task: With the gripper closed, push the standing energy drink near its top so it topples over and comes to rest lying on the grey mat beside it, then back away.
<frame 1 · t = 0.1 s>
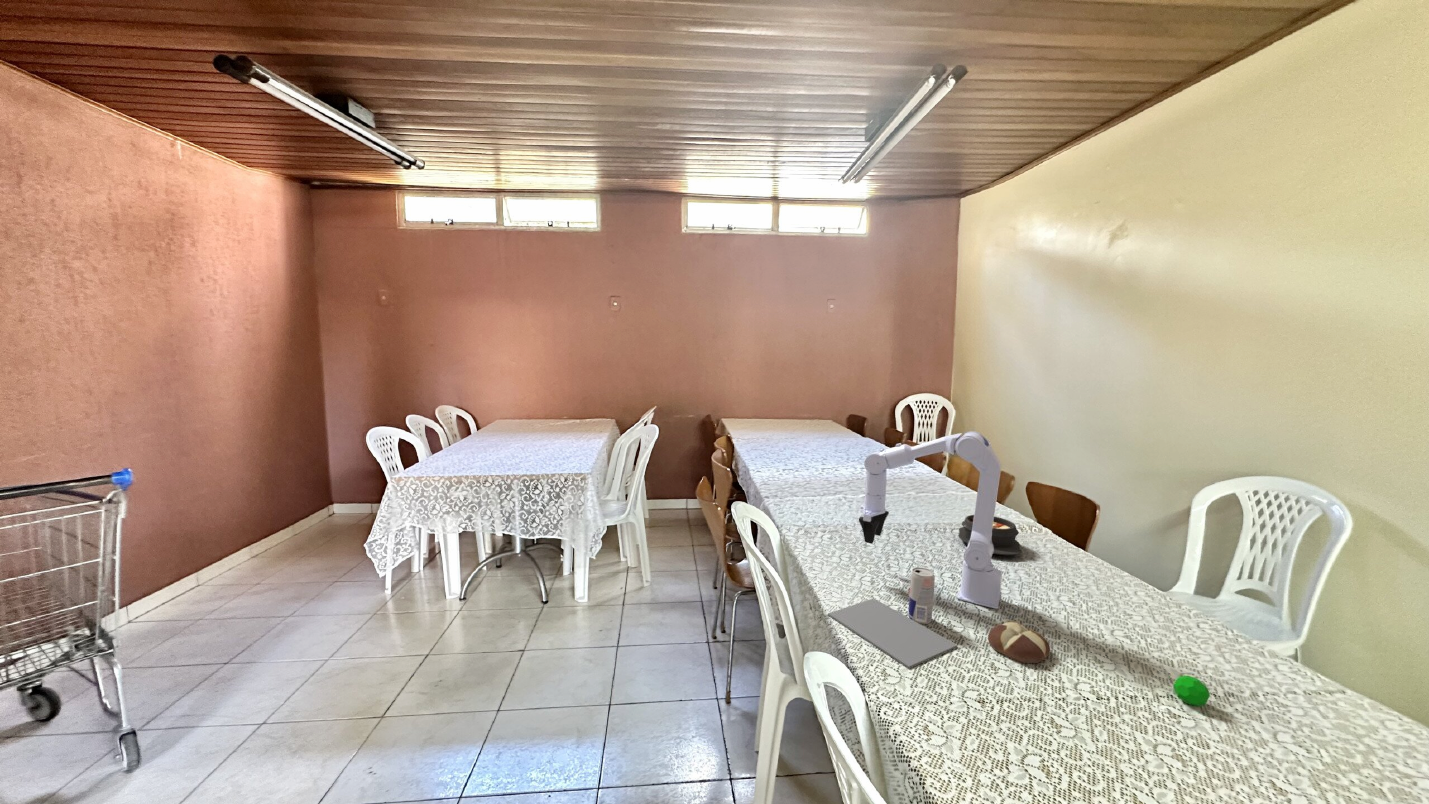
hand: (872, 538, 151), 10 cm above the table, fingers open, 7 cm apart
energy drink: (919, 619, 126), on the table
bread: (1018, 651, 114), on the table
polyhedron: (1189, 703, 98), on the table
casserole: (988, 546, 174), on the table
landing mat: (889, 630, 120), on the table
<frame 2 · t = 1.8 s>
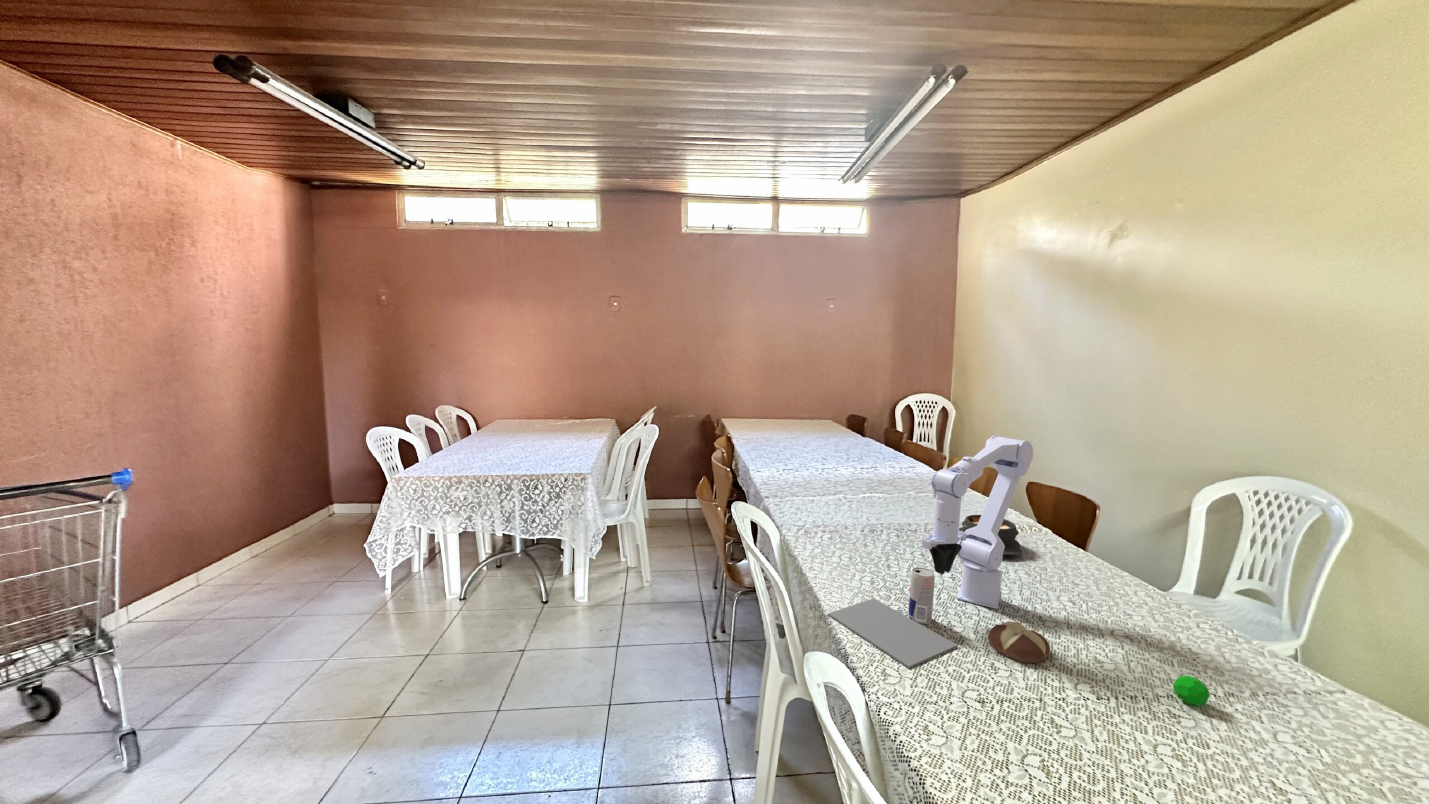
hand: (942, 571, 129), 10 cm above the table, fingers closed
nothing on the table moved.
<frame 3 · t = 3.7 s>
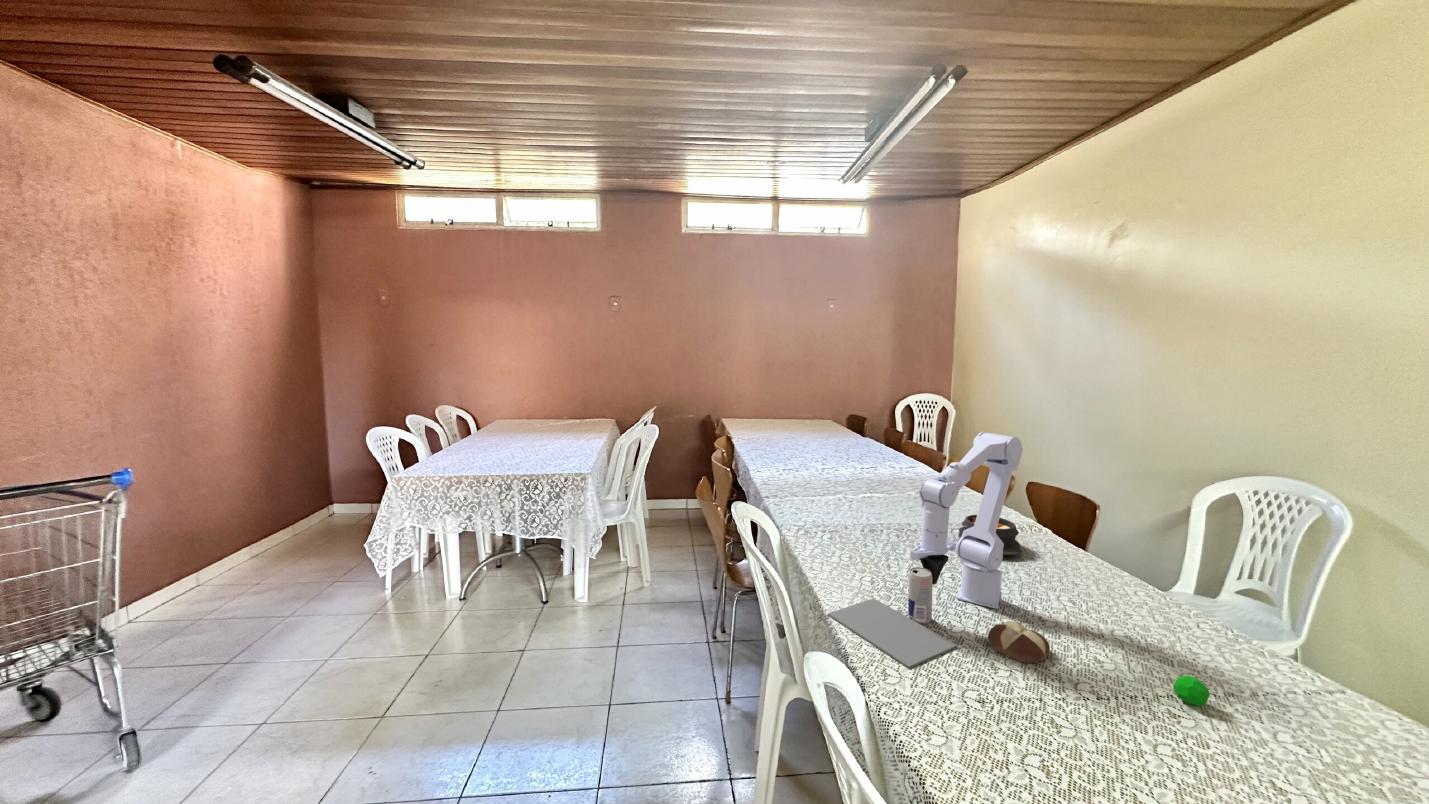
hand: (931, 582, 127), 8 cm above the table, fingers closed
nothing on the table moved.
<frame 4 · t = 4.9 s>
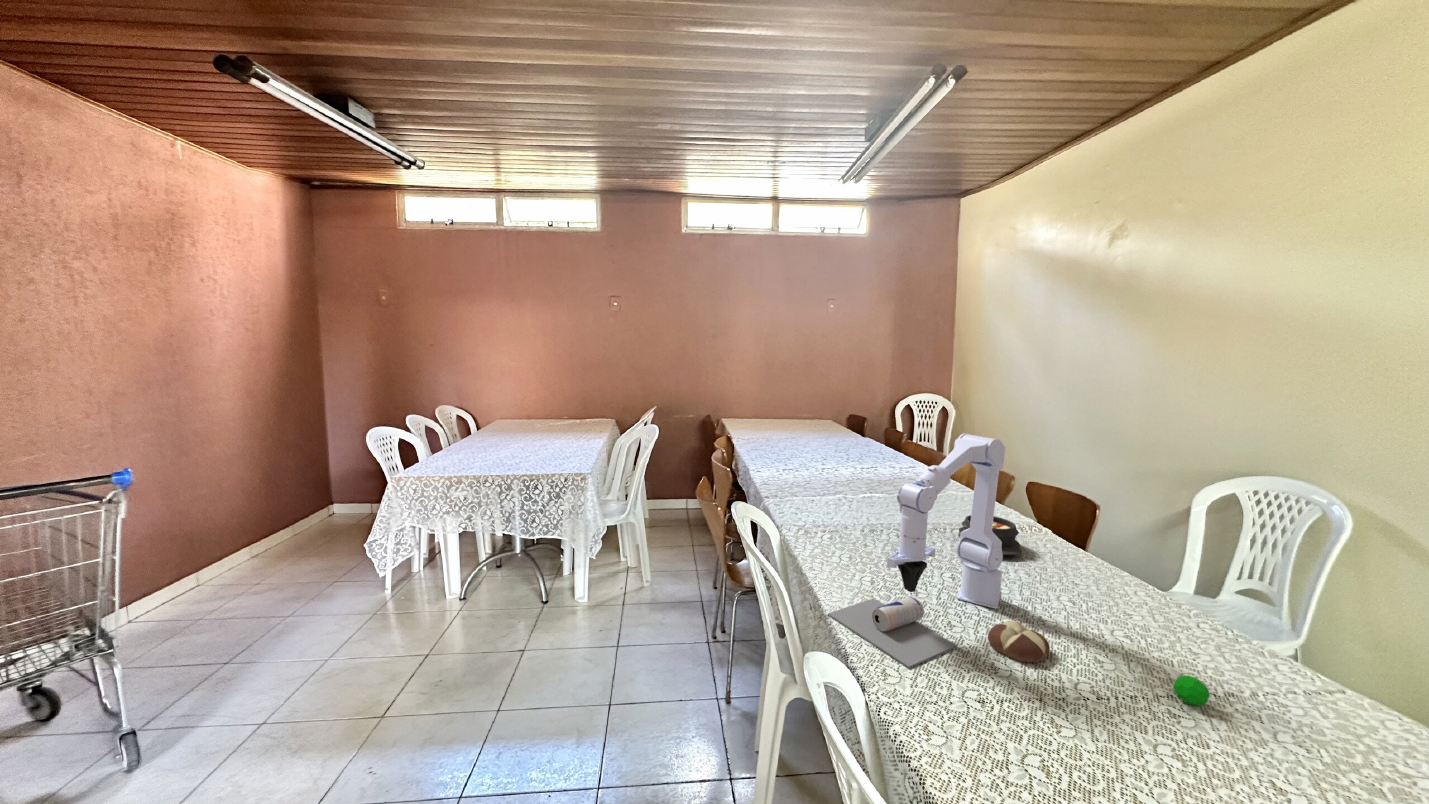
hand: (909, 590, 123), 8 cm above the table, fingers closed
energy drink: (916, 607, 125), point 3 cm above the table, touching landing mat
everything else where it was.
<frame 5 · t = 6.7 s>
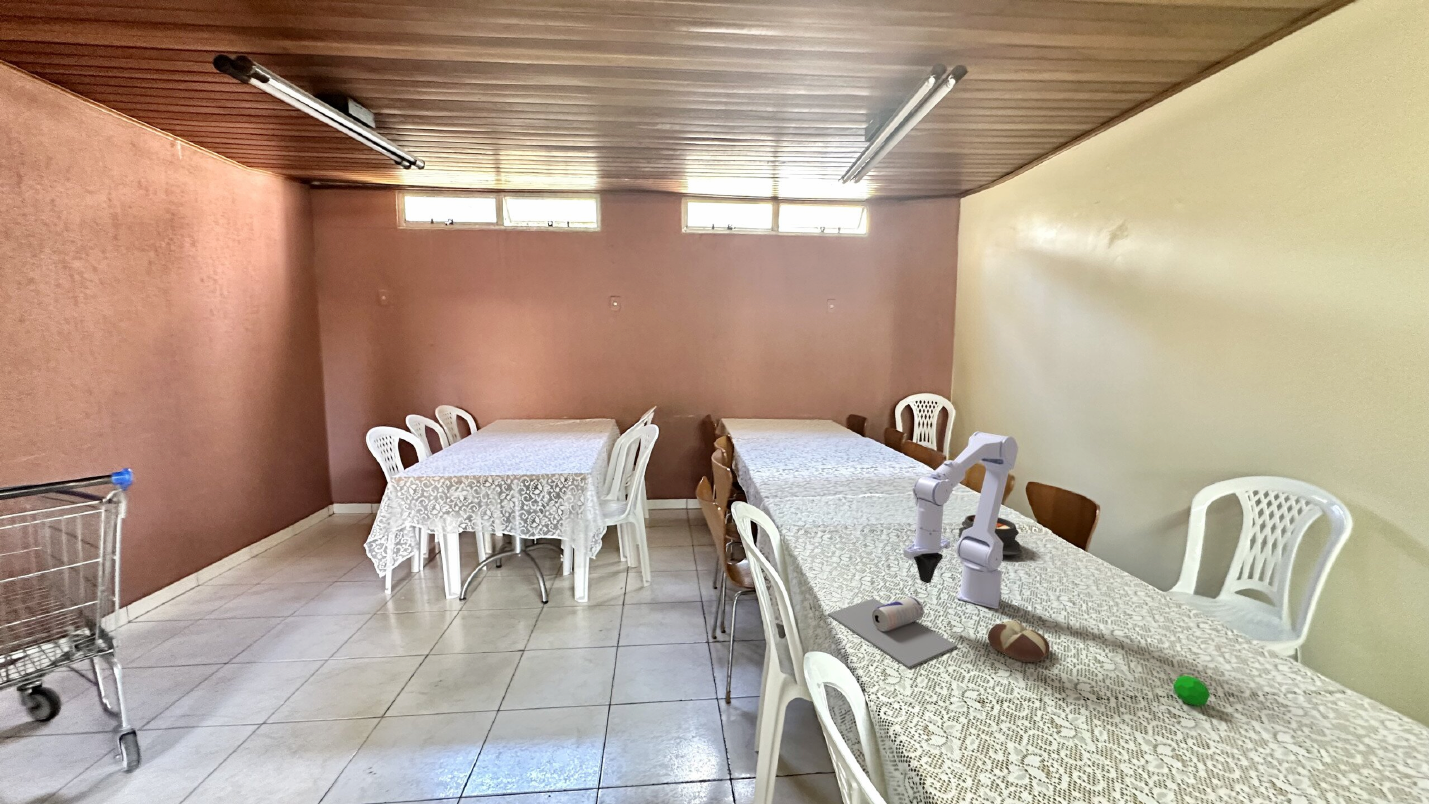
hand: (925, 581, 125), 9 cm above the table, fingers closed
nothing on the table moved.
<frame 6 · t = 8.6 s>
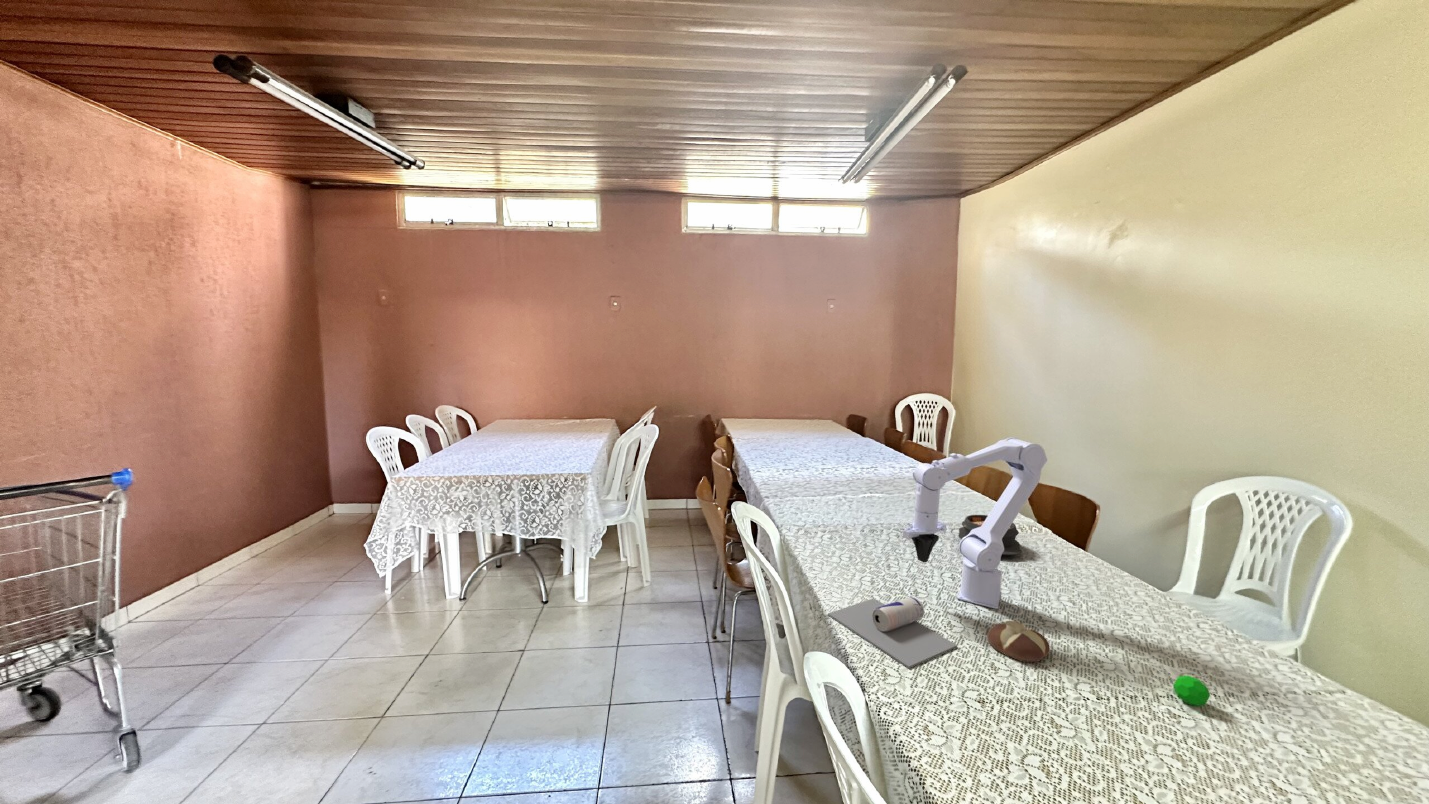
hand: (922, 560, 135), 10 cm above the table, fingers closed
nothing on the table moved.
at the end: energy drink tilted 90°; energy drink touching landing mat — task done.
